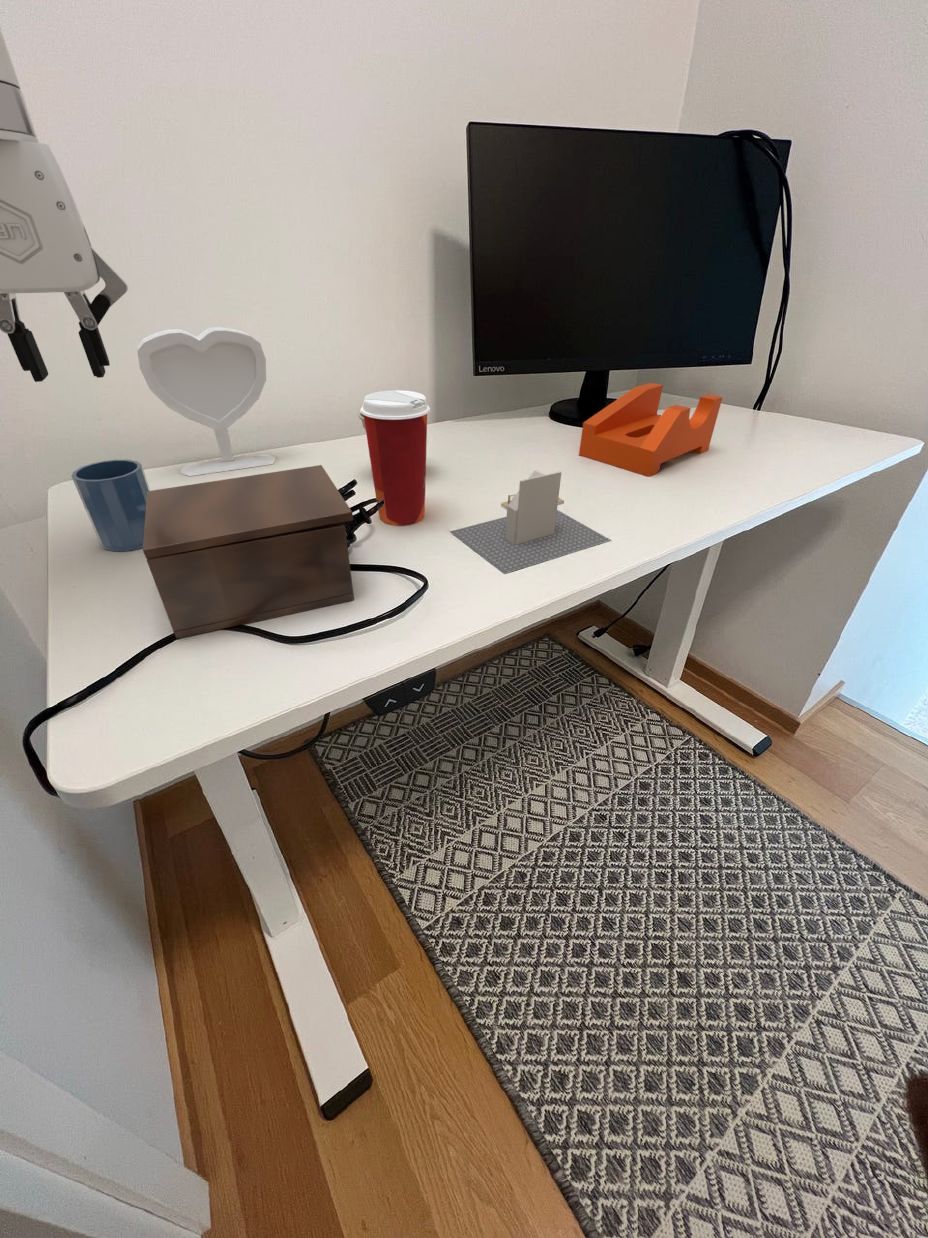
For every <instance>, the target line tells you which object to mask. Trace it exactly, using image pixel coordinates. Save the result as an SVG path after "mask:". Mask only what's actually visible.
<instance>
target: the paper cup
mask: <svg viewBox="0 0 928 1238" xmlns="http://www.w3.org/2000/svg"><path fill="white" fill-rule="evenodd" d="M427 402H428V401H427V398H426V396H425V395H424V394H422V393H420V392H417V391H412V390H401V389H391V390H381V391H375V392H371V393H369V394H368V393H367V395H365V396H364V398H363V402H362V406H361V407H360V410H359V411H360V412H361V413H362V414H363V415H364V421H365V428H366V430H365V434H366V440H367V447H368V454H369V461H370V468H371V474H372V475H371V476H372V481H373V488H374V495H375V500H384V504H383V506H382V507H381V508H380V509H379V510H378V509H377V512H378V518H379V519H380V521H381V522H383V523H385V524H387V525H391V526H410V525H414V524H416V523H419V522H421V521H422V520H423V519H424V517H425V507H426V484H427V483H426V481H427V479H426V477H427V445H428V444H427V441H428V414H429V413H430V412H431V408H430V406H429V405H428V403H427ZM365 428H364V429H365ZM378 503H380V501H376V505H377V504H378Z"/></svg>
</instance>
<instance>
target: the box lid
mask: <svg viewBox="0 0 928 1238" xmlns="http://www.w3.org/2000/svg"><path fill="white" fill-rule="evenodd" d="M353 514H354V513H353V511H352V509H351V507H350V506H349V505H348V503H347V502H346V500H345V498H344V497H343V495H342V494H341V492H340V490H339V489H338V488H337V486H336V485H335V483H334V482H333V480H332V479H331V477H330V475H329V474H328V473H327V471H326V470H325V468H324V466H323V465H322V464H319V465H313V466H304V467H299V468H298V467H297V468H291V469H286V470H278V471H272V472H266V473H260V474H259V473H257V474H252V475H246V476H239V477H238V476H237V477H232V478H227V479H226V478H225V479H219V480H213V481H212V480H211V481H205V482H199V483H192V484H186V485H179V486H173V487H167V488H166V487H165V488H159V489H153V490H152V489H151V490H150V491H147V501H146V514H145V528H144V541H143V548H142V552H143V554H144V557H145V559H146V560H147V559H148V558H154V557H159V556H164V555H170V554H175V553H180V552H186V551H191V550H196V549H201V548H207V547H212V546H217V545H223V544H228V543H233V542H239V541H244V540H249V539H255V538H260V537H265V536H271V535H276V534H281V533H287V532H292V531H297V530H303V529H308V528H313V527H319V526H324V525H329V524H335V523H340V522H343V523H345V522H351V521H354V515H353Z"/></svg>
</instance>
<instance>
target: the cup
mask: <svg viewBox="0 0 928 1238" xmlns="http://www.w3.org/2000/svg"><path fill="white" fill-rule="evenodd" d="M71 479H72V481H73V483H74V487H75V489H76V490H77V493H78V495H79V498H80V500H81V503H82V505H83V507H84V509H85V511H86V514H87V517H88V519H89V521H90V524H91V526H92V528H93V532H94V533H95V535H96V538H97V540H98V542H99V543H100V546H101V547H102V548H103V550H106V551H111V552H129V551H136V550H141V549H143V541H144V528H145V514H146V501H147V491H151V488H150V485H149V483H148V480H147V476H146V474H145V471H144V468H143V465H142V463H141V462H139V461H137V460H133V459H108V460H101V461H96V462H93V463H89V464H85V465H83V466H80V467H79V468H77V469H75V470H74V471H73V472H72V474H71Z"/></svg>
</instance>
